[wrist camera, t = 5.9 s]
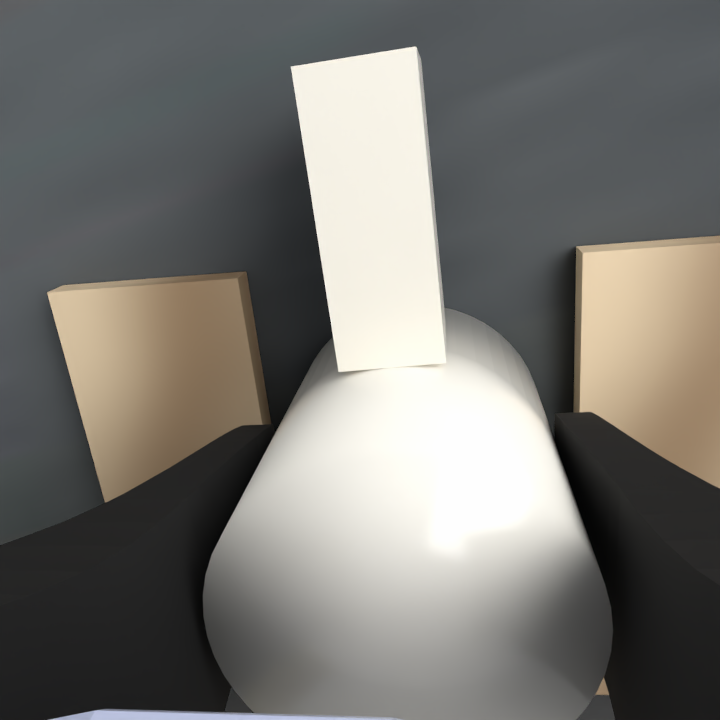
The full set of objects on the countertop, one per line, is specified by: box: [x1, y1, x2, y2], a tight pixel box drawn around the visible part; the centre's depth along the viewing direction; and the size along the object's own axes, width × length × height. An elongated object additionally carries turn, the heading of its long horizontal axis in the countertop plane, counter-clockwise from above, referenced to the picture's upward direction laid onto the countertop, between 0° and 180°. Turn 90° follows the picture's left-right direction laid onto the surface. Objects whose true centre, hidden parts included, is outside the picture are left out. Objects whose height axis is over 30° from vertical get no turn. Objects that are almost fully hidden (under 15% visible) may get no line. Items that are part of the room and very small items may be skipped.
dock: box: [47, 236, 720, 695], centre depth 14 cm, size 14×10×1 cm
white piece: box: [203, 47, 613, 720], centre depth 10 cm, size 10×5×6 cm, turn 8°
